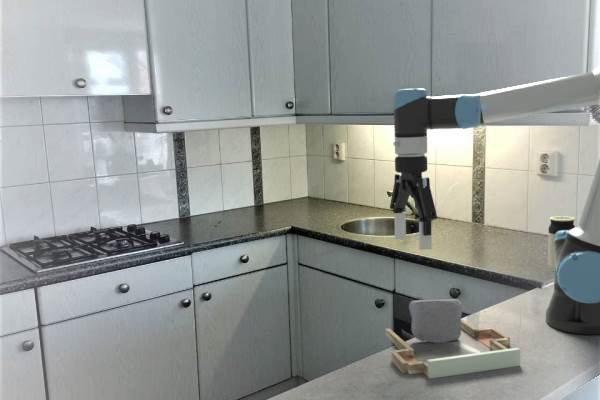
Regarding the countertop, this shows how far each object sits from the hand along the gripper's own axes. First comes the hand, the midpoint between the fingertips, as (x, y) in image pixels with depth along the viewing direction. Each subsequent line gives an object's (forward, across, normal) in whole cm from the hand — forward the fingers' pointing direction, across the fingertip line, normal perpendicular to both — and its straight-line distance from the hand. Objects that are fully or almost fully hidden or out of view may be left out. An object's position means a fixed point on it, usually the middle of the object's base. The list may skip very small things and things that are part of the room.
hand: (412, 243), depth 140 cm
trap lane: (+21, +15, +1) cm, 26 cm away
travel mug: (+22, -30, +67) cm, 77 cm away
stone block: (+22, +9, +1) cm, 23 cm away
